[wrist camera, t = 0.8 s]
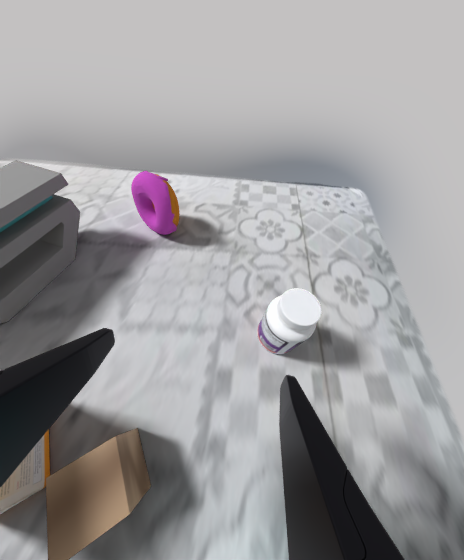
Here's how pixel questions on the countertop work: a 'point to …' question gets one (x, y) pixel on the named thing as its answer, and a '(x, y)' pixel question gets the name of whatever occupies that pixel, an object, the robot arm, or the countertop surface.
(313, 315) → the pill bottle
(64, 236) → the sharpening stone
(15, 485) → the supplement box
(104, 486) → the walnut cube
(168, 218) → the donut
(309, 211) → the countertop surface
